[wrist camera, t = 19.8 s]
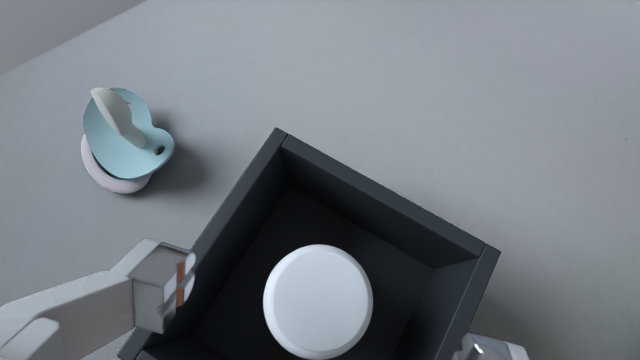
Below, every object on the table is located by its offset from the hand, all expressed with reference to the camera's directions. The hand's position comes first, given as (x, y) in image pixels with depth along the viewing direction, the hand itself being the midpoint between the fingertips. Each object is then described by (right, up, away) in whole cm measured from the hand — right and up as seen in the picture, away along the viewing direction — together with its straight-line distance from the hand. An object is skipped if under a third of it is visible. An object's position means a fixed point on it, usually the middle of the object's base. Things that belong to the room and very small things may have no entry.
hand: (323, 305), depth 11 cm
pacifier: (-14, +6, +16) cm, 22 cm away
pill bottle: (0, -4, +13) cm, 13 cm away
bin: (0, -4, +13) cm, 14 cm away
